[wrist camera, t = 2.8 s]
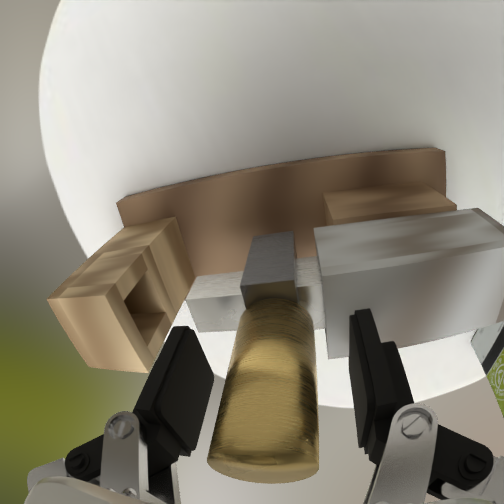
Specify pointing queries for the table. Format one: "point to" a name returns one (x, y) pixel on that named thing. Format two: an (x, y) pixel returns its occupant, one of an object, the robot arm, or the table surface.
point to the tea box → (492, 357)
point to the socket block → (126, 296)
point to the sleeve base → (351, 238)
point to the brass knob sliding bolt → (266, 361)
